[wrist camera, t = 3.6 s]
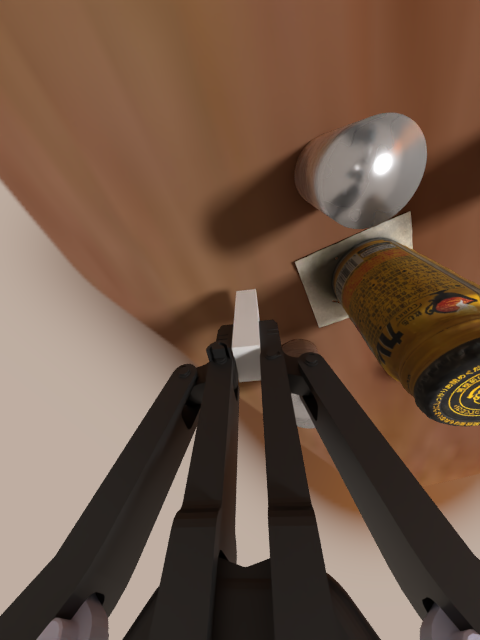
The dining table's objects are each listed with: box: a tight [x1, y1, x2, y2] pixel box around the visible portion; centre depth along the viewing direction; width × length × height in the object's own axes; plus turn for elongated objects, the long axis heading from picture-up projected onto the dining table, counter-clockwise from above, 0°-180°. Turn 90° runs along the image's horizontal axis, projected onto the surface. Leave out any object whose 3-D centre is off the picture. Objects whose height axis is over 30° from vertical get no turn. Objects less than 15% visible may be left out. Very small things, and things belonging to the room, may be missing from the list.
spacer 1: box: [282, 339, 319, 428], centre depth 21 cm, size 4×4×7 cm
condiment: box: [295, 211, 480, 426], centre depth 15 cm, size 7×8×12 cm
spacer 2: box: [294, 113, 427, 229], centre depth 12 cm, size 4×4×7 cm
